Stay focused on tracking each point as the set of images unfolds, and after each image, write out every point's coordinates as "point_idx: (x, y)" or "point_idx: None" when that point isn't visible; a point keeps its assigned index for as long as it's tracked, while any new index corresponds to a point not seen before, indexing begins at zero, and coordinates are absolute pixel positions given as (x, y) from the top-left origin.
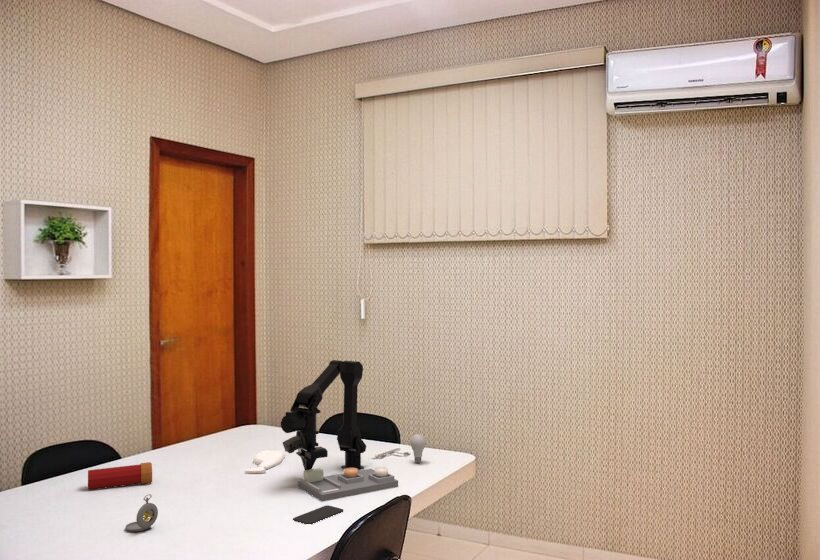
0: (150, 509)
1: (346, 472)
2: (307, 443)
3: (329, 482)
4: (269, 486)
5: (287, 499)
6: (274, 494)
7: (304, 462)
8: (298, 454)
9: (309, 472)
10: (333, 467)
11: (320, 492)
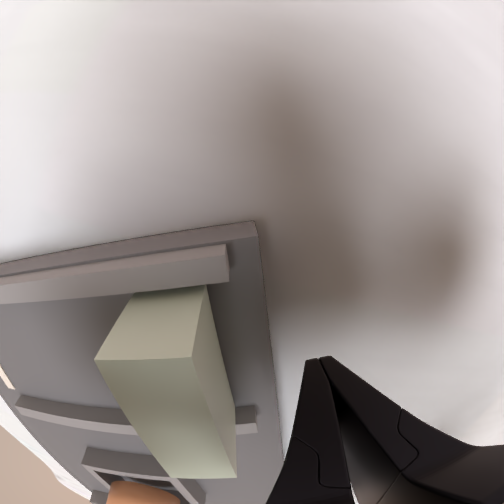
0: None
1: (115, 499)
2: None
3: (104, 413)
4: (381, 32)
5: (14, 87)
6: (150, 3)
7: (373, 442)
8: (500, 490)
9: (111, 382)
10: (444, 431)
11: None
